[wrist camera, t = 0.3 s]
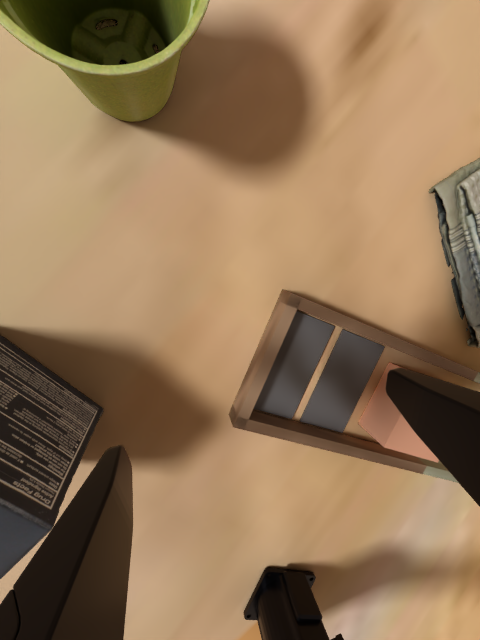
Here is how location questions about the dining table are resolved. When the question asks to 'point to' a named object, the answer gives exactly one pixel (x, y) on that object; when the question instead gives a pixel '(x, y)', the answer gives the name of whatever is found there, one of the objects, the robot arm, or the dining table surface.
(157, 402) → the dining table surface
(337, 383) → the channel
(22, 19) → the plant pot
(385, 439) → the block
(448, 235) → the dish towel
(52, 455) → the small box
